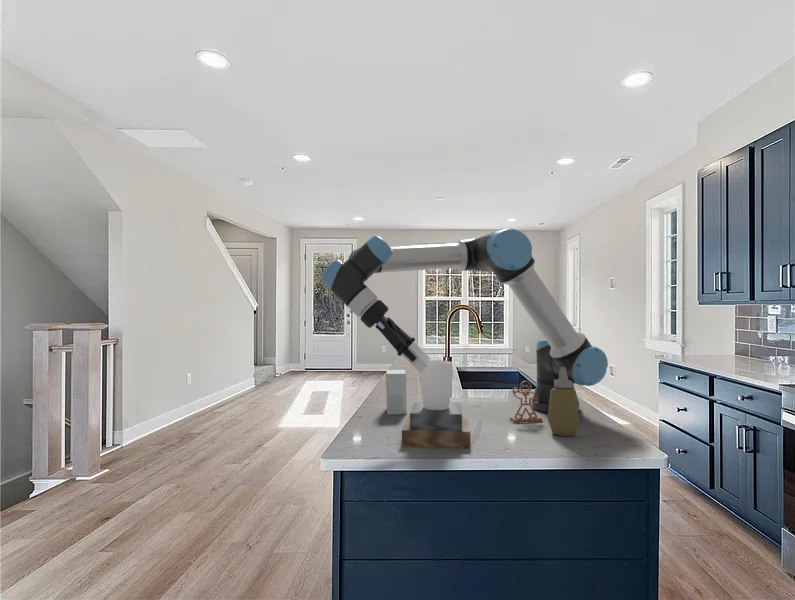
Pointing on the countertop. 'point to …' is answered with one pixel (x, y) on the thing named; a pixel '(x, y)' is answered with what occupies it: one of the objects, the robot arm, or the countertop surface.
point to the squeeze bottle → (563, 406)
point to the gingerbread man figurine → (526, 419)
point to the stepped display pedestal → (436, 427)
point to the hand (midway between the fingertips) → (426, 365)
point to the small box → (396, 391)
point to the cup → (436, 384)
